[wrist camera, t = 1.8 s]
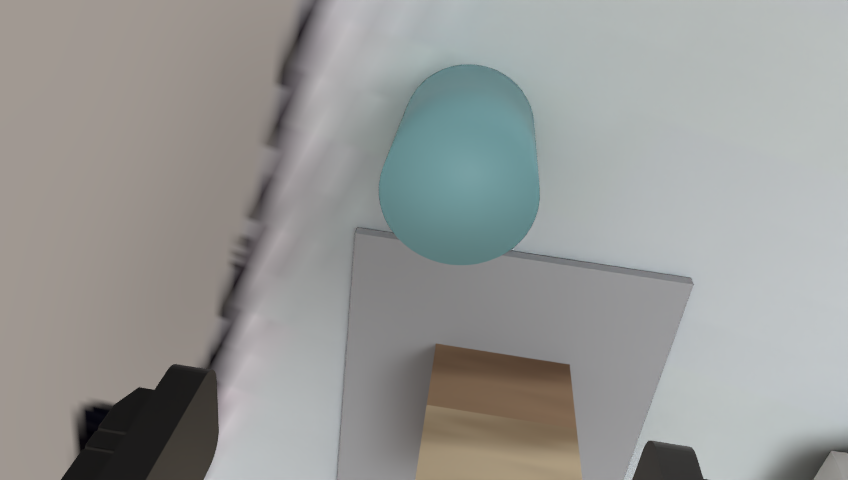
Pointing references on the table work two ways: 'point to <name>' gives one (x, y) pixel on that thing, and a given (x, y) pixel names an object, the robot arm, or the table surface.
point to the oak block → (494, 448)
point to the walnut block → (502, 386)
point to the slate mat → (499, 345)
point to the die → (834, 467)
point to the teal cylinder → (462, 168)
